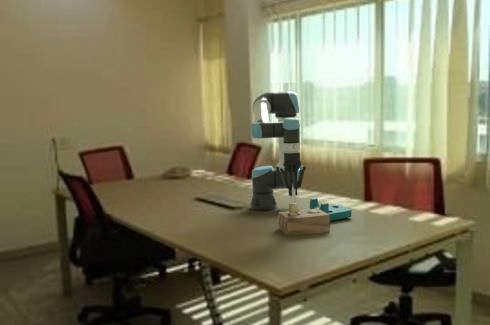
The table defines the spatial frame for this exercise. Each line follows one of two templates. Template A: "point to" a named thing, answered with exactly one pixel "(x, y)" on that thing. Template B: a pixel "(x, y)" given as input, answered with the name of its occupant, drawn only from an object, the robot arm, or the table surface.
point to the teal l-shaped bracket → (331, 209)
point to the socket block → (304, 222)
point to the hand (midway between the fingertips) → (293, 202)
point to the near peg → (293, 209)
